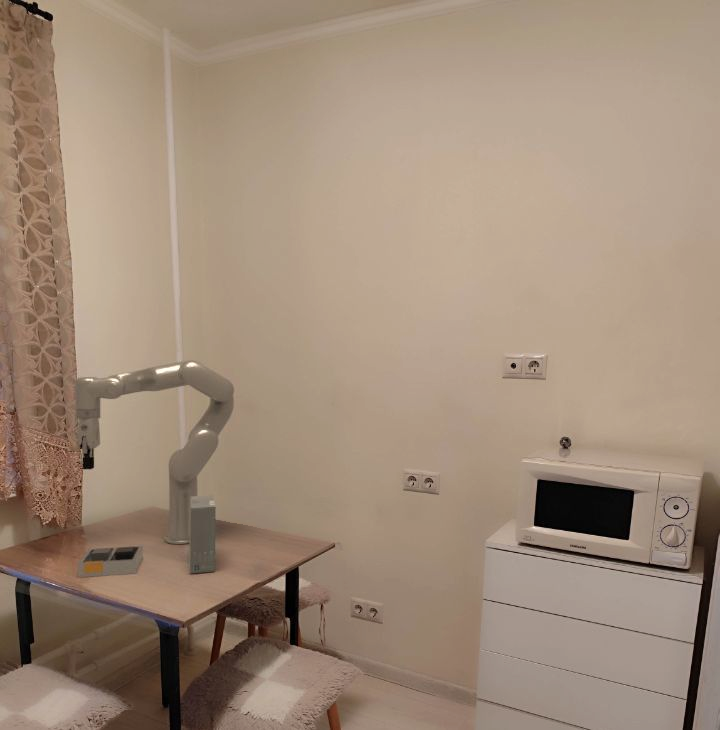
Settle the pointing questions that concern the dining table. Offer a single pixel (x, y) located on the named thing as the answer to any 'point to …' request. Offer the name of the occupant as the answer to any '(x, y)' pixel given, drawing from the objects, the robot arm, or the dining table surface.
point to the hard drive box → (202, 534)
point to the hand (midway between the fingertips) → (88, 468)
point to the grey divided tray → (112, 562)
